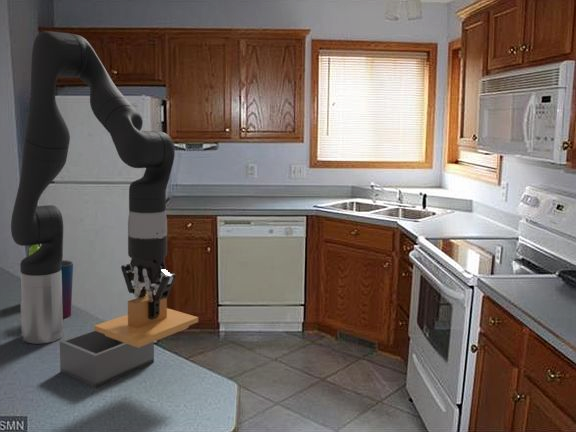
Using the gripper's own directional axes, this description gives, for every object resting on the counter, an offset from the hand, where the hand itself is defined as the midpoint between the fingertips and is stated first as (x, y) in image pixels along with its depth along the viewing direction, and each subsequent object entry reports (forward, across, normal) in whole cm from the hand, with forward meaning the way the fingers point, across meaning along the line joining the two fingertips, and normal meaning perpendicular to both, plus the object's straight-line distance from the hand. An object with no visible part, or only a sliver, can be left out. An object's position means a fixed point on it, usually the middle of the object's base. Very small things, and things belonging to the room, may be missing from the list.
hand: (148, 316), depth 114 cm
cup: (+16, -51, +15) cm, 56 cm away
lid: (+3, 0, 0) cm, 3 cm away
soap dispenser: (+16, -65, +17) cm, 69 cm away
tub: (+16, -15, +2) cm, 22 cm away
